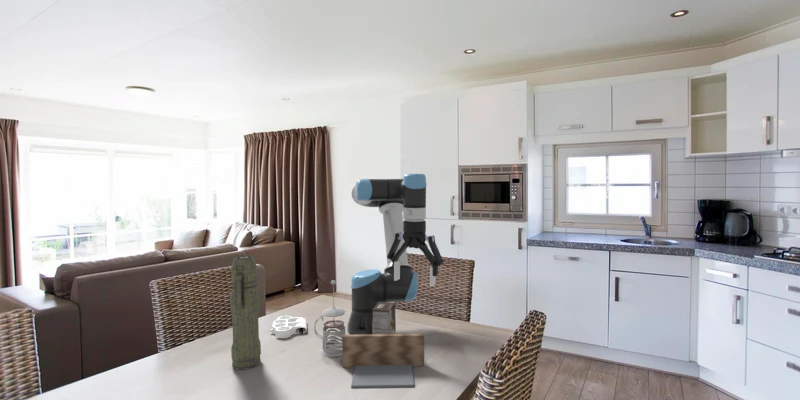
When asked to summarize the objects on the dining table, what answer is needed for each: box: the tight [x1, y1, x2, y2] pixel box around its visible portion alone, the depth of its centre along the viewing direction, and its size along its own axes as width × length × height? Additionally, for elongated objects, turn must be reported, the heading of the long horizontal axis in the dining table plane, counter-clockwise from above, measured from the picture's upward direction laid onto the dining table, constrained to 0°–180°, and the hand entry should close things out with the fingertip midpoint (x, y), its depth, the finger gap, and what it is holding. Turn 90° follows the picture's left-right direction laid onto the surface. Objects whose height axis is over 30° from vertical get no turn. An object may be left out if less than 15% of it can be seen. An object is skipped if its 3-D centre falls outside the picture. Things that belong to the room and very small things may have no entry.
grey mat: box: [350, 365, 415, 389], centre depth 122 cm, size 18×13×1 cm
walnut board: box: [341, 333, 425, 368], centre depth 128 cm, size 26×2×10 cm, turn 91°
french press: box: [313, 279, 346, 358], centre depth 140 cm, size 10×12×25 cm
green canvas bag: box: [229, 255, 262, 370], centre depth 130 cm, size 9×12×35 cm
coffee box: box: [372, 302, 397, 334], centre depth 139 cm, size 9×6×16 cm
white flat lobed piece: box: [268, 315, 308, 339], centre depth 161 cm, size 3×18×15 cm
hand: (414, 282), depth 135 cm, fingers open, 13 cm apart
